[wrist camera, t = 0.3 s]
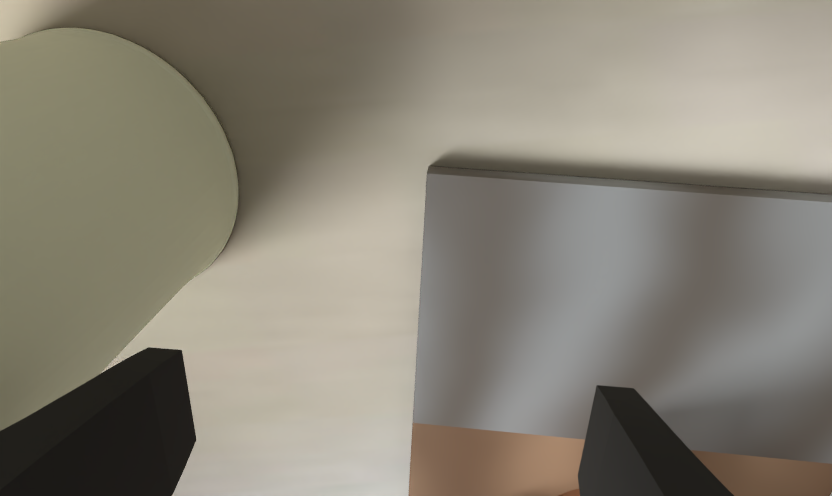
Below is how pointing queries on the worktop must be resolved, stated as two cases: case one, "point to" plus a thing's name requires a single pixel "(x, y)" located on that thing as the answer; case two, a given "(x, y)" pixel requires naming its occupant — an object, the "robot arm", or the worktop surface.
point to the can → (97, 204)
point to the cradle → (620, 329)
